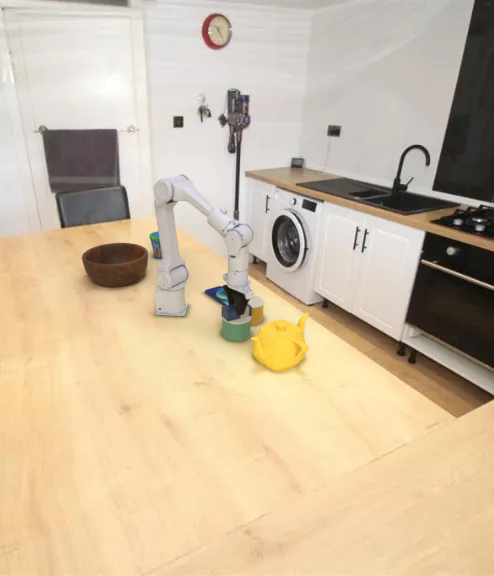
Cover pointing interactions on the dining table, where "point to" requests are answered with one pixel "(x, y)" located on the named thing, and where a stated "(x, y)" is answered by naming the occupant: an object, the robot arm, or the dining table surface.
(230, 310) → the block
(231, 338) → the yogurt pot
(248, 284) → the robot arm
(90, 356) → the dining table surface
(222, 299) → the smartphone
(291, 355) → the teapot
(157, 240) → the snack cup
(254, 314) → the ochre yogurt pot
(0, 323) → the dining table surface
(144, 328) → the dining table surface
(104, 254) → the wooden bowl
